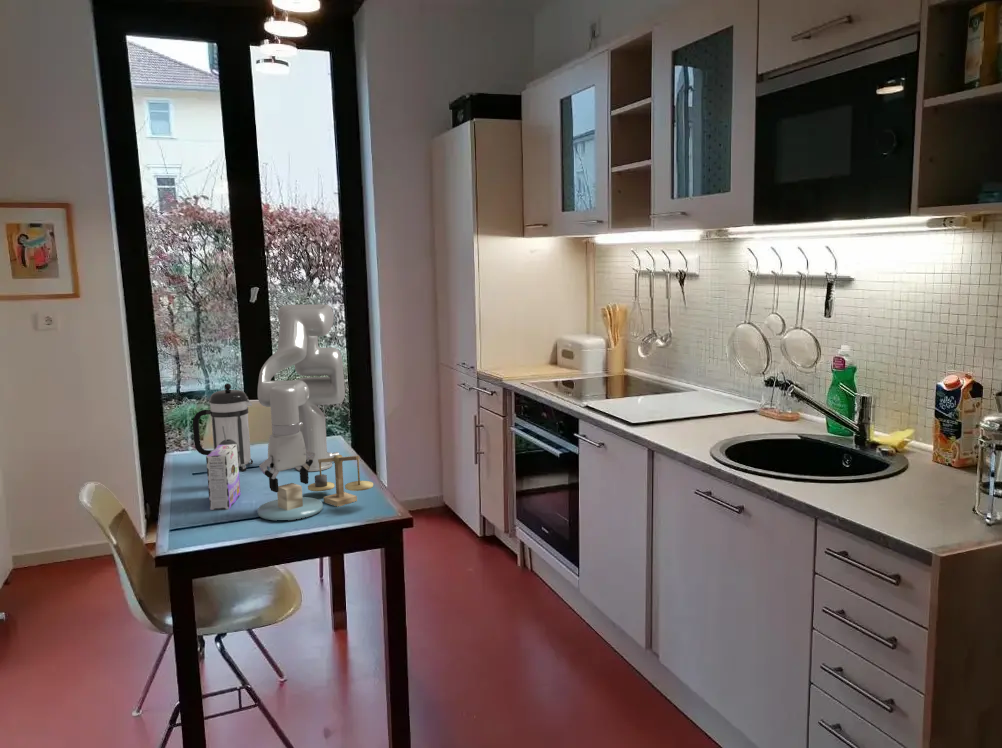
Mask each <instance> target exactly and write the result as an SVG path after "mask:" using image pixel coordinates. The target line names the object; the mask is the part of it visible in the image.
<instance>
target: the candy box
mask: <svg viewBox="0 0 1002 748" xmlns="http://www.w3.org/2000/svg"><path fill="white" fill-rule="evenodd" d="M212 450H213V451H212V452H210V453H209V454H208V455H205V458H206V459H205V461H206V474H207V475H206V476H207V485H208V486H207V487H208V499H209V500H208V501H209V510H210V511H212V510H213V511H217V510H218V511H219V510H221V511H222V510H224V511H225V510H227V511H228V510H230V509H231V508H232V506H233V505H235V503H236V502H237V500H238V499H239V497H240V496H241V494H242V493H241V481H240V468H239V466H238V453H237V444H229V445H218V446H217V447H216V448H215V449H214V448H213V449H212Z"/></svg>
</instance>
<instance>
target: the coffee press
mask: <svg viewBox="0 0 1002 748" xmlns="http://www.w3.org/2000/svg"><path fill="white" fill-rule="evenodd" d="M223 388H224V390H217V391H215V392H213V393H212V394H211V395H210V397H209V399H208V403H209V406H210V409H202V410H199V411H198V412H197V413H195V414H194V416H193V420H192V431H193V443H194V448H195V450H196V451H197V452H198V453H199V454H201V455H204V456H207V455H208V454H209V453H210V452H212V451H213V450H214V449H215V448H216V447H217V446H218V445H219V444H220V443H221V442H222V441H224V440H225V439H224V433H223V428H222V426H224V429H225V435H226V440H227V439H230V440H233V441H235V442H236V443H237V444H238V446H239V448H240V457H239V471H241V472H246V471H247V466H246V465H248V464H249V465H253V464H254V460H253V459H252V457H251V455H252V454H251V441H250V427H249V407H252V406H253V404H252V402H251V401H250V400H249V396H247V393H245V392H244V391H242V390H240V389H231V388H232V385H231V384H230V383H225V384H224V387H223ZM207 415H210V418H211V431H212V445H213V449H210V450H207V449H204V448H203V447H202V445H201V437H200V435H201V434H200V424H199V423H200V419H201V418H202V416H207Z"/></svg>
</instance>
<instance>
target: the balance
mask: <svg viewBox="0 0 1002 748" xmlns="http://www.w3.org/2000/svg"><path fill="white" fill-rule="evenodd" d="M360 460H361V459H360V455H351V456H343V455H342V454H339V455H337V456H334V458H324V459H318V463H319V470H320V471H319V474H316V475H315V476H314V482H313V483H311V484H307V490H308V491H311V492H325V491H330V490H332V489H334V488H335V493H333V494H330V495H327V496H323V502H324V503H325V504H328V505H331V506H333V505H334V507H336V506H337V508H339V507H342V506H345V504H346V505H349V504H352V502H353V503H356V502H358V495H355V494H352V493H350V492H349V493H348V492H346V491H345V489H346V490H347V491H353V492H359V491H366V490H370V489H372V488H373V487H374V482H372V481H370V480H369V481H368V480H360V479H361V476H360ZM344 461H345V462H346V461H357V466H356V467H357V480H354V481H351V482H348V483H345V485H344V473H343V472H344V471H343V470H344V469H343V467H344V466H343V462H344ZM322 462H332V463H334V475H335V477H334V478H335V483H334V482H331V481H328V476H327V474H322V470H321V463H322ZM344 488H345V489H344ZM355 501H356V502H355ZM338 506H339V507H338Z"/></svg>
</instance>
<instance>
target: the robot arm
mask: <svg viewBox="0 0 1002 748" xmlns="http://www.w3.org/2000/svg"><path fill="white" fill-rule="evenodd" d="M277 311H278V312H277V318H278V322H279V329H278V330H279V331H278V332H279V333H278V339H277V340H278V341H277V350H276V351H275V352H274V353H273V354H272V355H271V356H269V358H268V359H267V360H266V361H265V362H264V364H263V365H262V367H261V369H260V371H259V376H258V381H257V382H258V383H257V399H258V402H259V404H260V405H261V406H263V407H265V408H270V416H271V417H270V419H271V432H272V433H271V434H270V435H269V437H268V445H267V458H266V459H265V460H264V461H263V462H262V463H261V464H259V466H258V467H259V469H260V471H261V473H262V474H264V475H265V476H266V477H267V478H268V483H269V485H268V486H269V489H270V491H271V492H274V493H277V492H278V491H279V490H278V486H279V479H278V478H277V476H278V474H279V473H280V472H282V471H285V470H290V469H295V470H297V471H299V481H300V483H301V484H304V485H309V472H318V471H319V472H320V470H319V463H318V459H324V458H334V456H337V455H340V453H339V452H338V451H335V452H331V451H330V452H329V451H328V446H327V444H328V442H327V427H326V424H327V423H326V416H325V414H324V412H323V411H322V410H321V409H320V407H319V406H321V405H323V406H324V405H325V406H326V405H337V404H341V403H343V401H344V400H345V397H346V396H345V395H346V386H345V377H344V376H345V375H344V363H343V357H342V353H341V351H340V350H339V349H338V348H337V347H331V346H329V347H320V346H319V342H318V341H319V340H318V337H324V336H326V335H328V333H329V332H330V331H331V329H332V328H333V325H334V321H335V320H334V310H333V309H332V307H331V305H328V304H324V303H321V304H318V303H317V304H316V303H315V304H287V305H282V306H281V307H279V309H278V310H277ZM292 366H294V370H295V372H296V373H297V374H298V375H300V376H302V378H298V379H293V380H291V379H290V380H287V379H286V380H273V379H272V378H274V376H276V374H278V373H279V372H281V371H283V370H285V369H288V368H290V367H292ZM321 376H322V377H321ZM332 467H333V462H322V463H321V471H323V470H328V469H331V468H332ZM268 468H269V469H268Z"/></svg>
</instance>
